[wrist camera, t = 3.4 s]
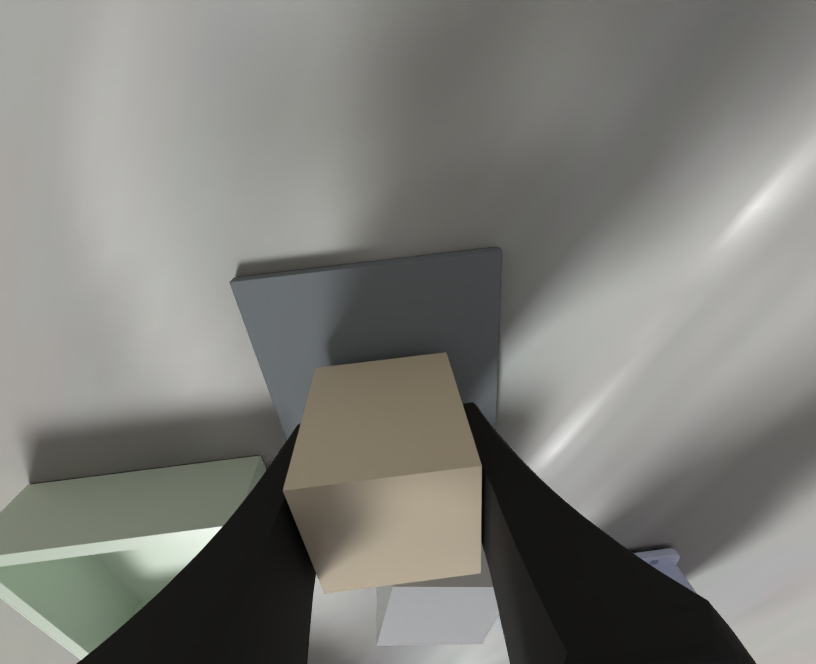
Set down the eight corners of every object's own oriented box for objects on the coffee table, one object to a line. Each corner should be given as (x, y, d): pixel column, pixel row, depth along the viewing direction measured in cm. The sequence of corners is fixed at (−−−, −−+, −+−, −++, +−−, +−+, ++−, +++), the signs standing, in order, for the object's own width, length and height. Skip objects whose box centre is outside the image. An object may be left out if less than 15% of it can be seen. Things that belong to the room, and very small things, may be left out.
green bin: (260, 455, 14) (236, 524, 12) (312, 577, 19) (302, 646, 16) (28, 484, 14) (-49, 561, 12) (136, 600, 19) (98, 673, 16)
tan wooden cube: (446, 352, 11) (481, 465, 8) (450, 445, 14) (480, 573, 10) (315, 367, 11) (282, 490, 7) (340, 459, 13) (324, 593, 10)
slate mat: (497, 246, 11) (501, 250, 11) (489, 524, 18) (492, 532, 17) (234, 277, 11) (229, 282, 10) (329, 545, 18) (327, 553, 17)
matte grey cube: (484, 486, 16) (514, 587, 12) (461, 542, 18) (482, 643, 14) (389, 481, 15) (392, 586, 12) (376, 540, 17) (376, 645, 14)
